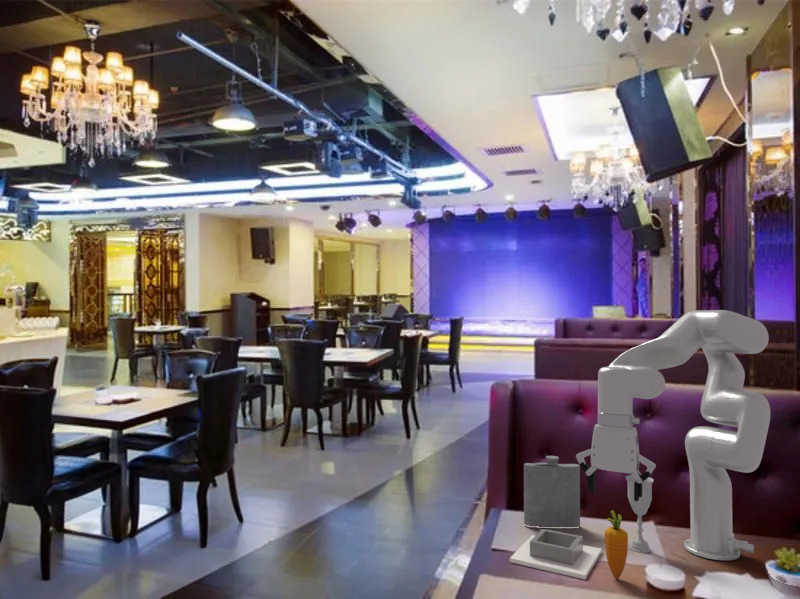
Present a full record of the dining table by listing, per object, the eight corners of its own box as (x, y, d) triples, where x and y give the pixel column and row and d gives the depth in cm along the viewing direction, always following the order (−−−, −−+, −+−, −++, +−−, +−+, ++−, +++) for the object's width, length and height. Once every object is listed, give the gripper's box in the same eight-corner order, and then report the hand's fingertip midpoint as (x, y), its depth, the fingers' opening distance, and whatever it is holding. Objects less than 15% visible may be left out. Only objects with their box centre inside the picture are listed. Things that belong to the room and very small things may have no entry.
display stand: (601, 552, 145) (601, 534, 145) (585, 579, 129) (585, 559, 130) (532, 538, 154) (532, 521, 154) (509, 562, 139) (509, 543, 139)
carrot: (628, 585, 127) (628, 517, 127) (605, 582, 128) (604, 514, 129) (627, 576, 131) (627, 510, 132) (604, 573, 133) (604, 508, 134)
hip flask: (578, 524, 165) (577, 455, 166) (582, 529, 161) (581, 458, 162) (523, 523, 166) (523, 454, 166) (525, 528, 162) (525, 457, 162)
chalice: (657, 555, 143) (656, 483, 144) (628, 553, 145) (628, 481, 145) (650, 544, 150) (650, 475, 151) (623, 542, 152) (623, 474, 153)
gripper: (657, 422, 130) (657, 498, 129) (580, 415, 139) (579, 486, 138) (653, 427, 124) (653, 507, 123) (572, 418, 132) (571, 493, 131)
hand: (614, 496), depth 130 cm, fingers open, 9 cm apart
